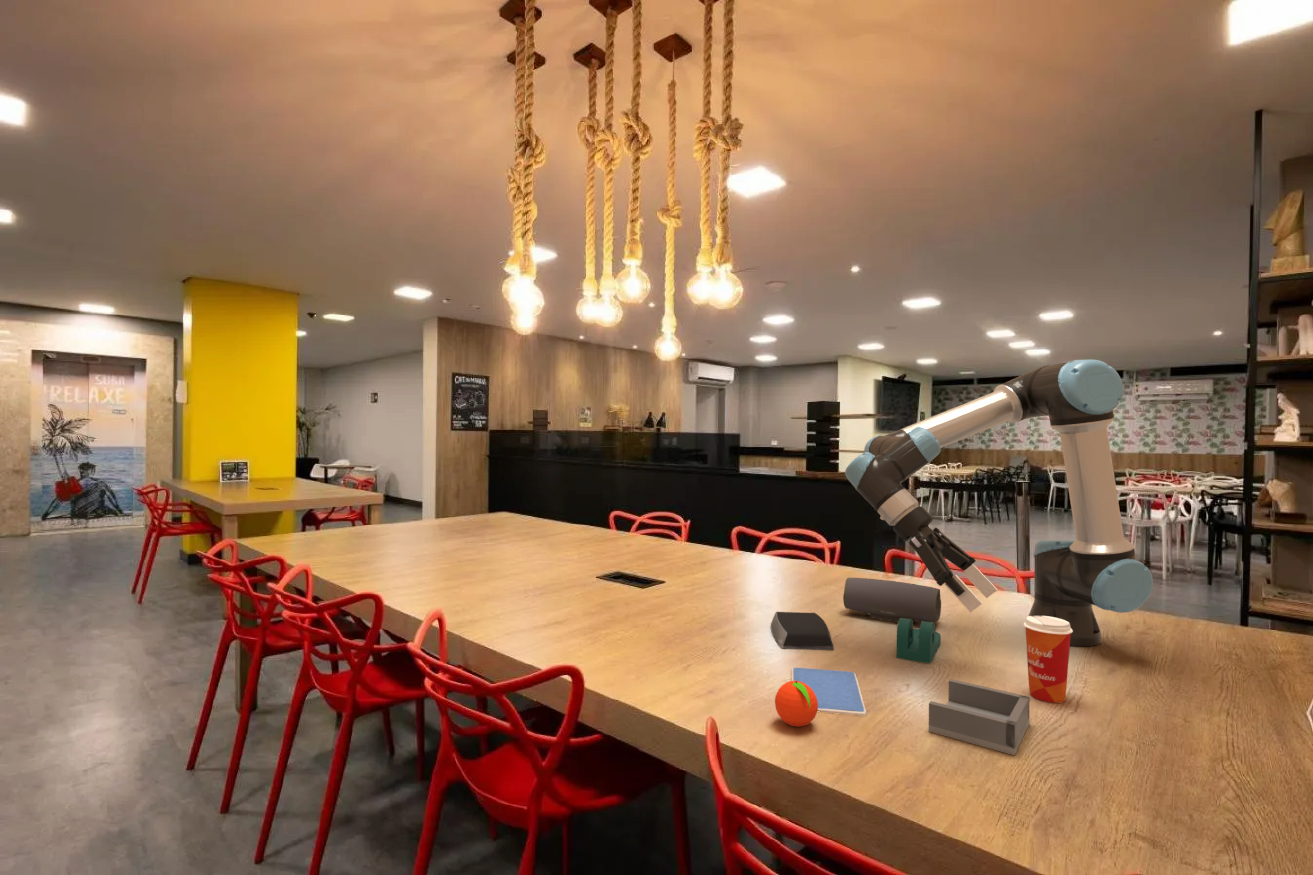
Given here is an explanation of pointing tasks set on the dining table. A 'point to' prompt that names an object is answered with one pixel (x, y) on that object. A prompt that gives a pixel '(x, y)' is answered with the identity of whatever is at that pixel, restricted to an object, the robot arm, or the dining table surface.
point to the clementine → (796, 703)
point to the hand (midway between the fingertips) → (985, 600)
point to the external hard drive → (801, 631)
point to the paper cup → (1047, 657)
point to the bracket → (917, 641)
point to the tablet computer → (833, 690)
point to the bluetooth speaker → (892, 599)
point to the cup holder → (981, 716)
